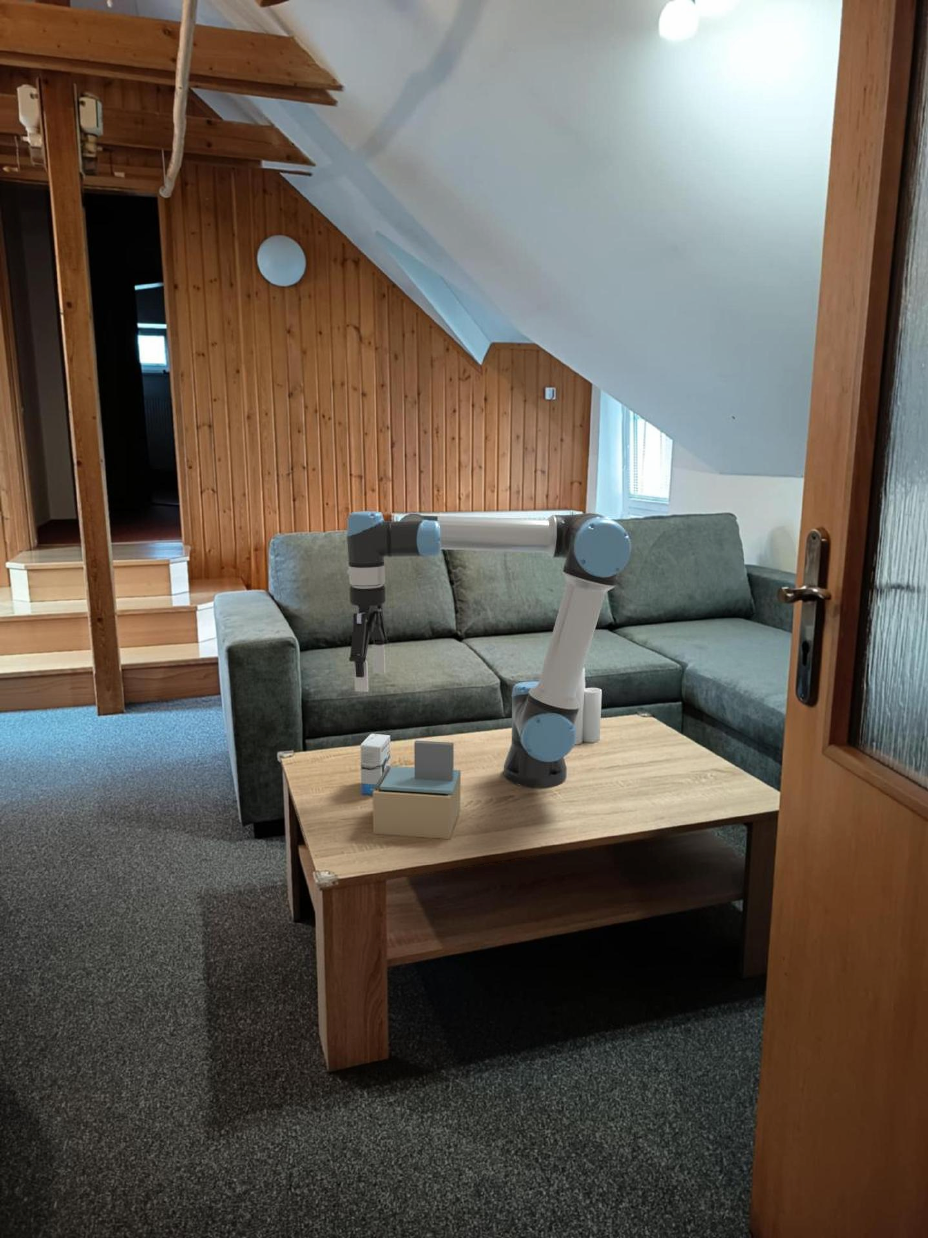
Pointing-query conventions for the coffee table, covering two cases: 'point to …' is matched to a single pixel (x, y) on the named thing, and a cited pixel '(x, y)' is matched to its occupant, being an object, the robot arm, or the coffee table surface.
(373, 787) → the ink box
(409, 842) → the coffee table surface
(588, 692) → the vase
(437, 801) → the carton
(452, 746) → the lid flap
